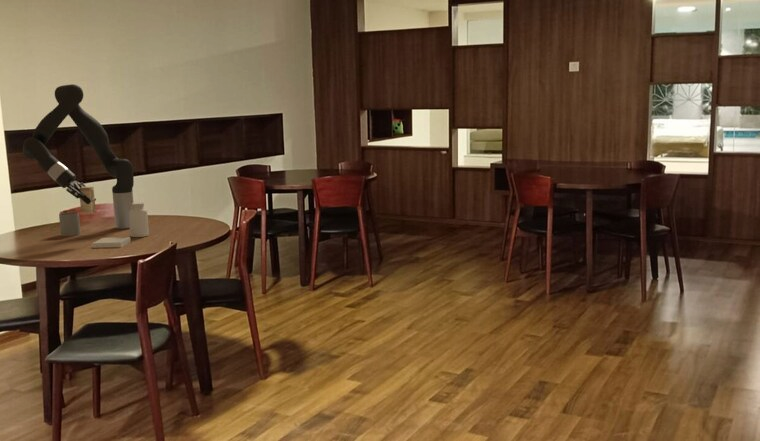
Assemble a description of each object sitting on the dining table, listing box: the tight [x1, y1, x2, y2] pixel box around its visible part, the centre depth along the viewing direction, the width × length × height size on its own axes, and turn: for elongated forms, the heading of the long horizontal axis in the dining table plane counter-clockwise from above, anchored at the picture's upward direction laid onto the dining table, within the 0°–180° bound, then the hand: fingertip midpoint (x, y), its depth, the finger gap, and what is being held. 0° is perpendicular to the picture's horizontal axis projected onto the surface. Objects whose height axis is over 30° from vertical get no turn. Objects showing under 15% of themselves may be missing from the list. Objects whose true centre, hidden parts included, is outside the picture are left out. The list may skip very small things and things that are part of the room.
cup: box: [58, 211, 81, 237], centre depth 350 cm, size 8×8×10 cm
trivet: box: [91, 236, 132, 249], centre depth 323 cm, size 12×12×2 cm
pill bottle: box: [129, 202, 150, 238], centre depth 341 cm, size 8×8×15 cm
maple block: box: [79, 186, 97, 215], centre depth 326 cm, size 4×4×11 cm
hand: (92, 201), depth 326 cm, fingers closed on maple block, 4 cm apart
